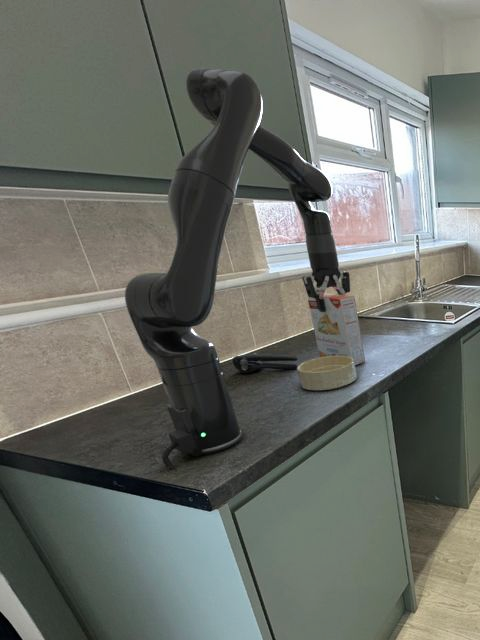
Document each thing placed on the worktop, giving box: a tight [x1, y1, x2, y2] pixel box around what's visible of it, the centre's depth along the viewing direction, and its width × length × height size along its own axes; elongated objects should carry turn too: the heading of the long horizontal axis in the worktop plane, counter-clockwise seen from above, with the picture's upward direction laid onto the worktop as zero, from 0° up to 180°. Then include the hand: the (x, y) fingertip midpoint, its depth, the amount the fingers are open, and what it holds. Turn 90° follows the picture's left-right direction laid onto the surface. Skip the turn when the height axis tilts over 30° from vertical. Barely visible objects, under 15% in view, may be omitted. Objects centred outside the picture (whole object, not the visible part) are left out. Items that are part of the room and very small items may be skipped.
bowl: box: [296, 356, 358, 391], centre depth 113 cm, size 14×14×6 cm
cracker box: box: [306, 292, 366, 367], centre depth 126 cm, size 14×6×21 cm, turn 62°
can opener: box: [232, 352, 298, 374], centre depth 124 cm, size 18×7×6 cm, turn 99°
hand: (332, 309), depth 124 cm, fingers closed on cracker box, 6 cm apart
